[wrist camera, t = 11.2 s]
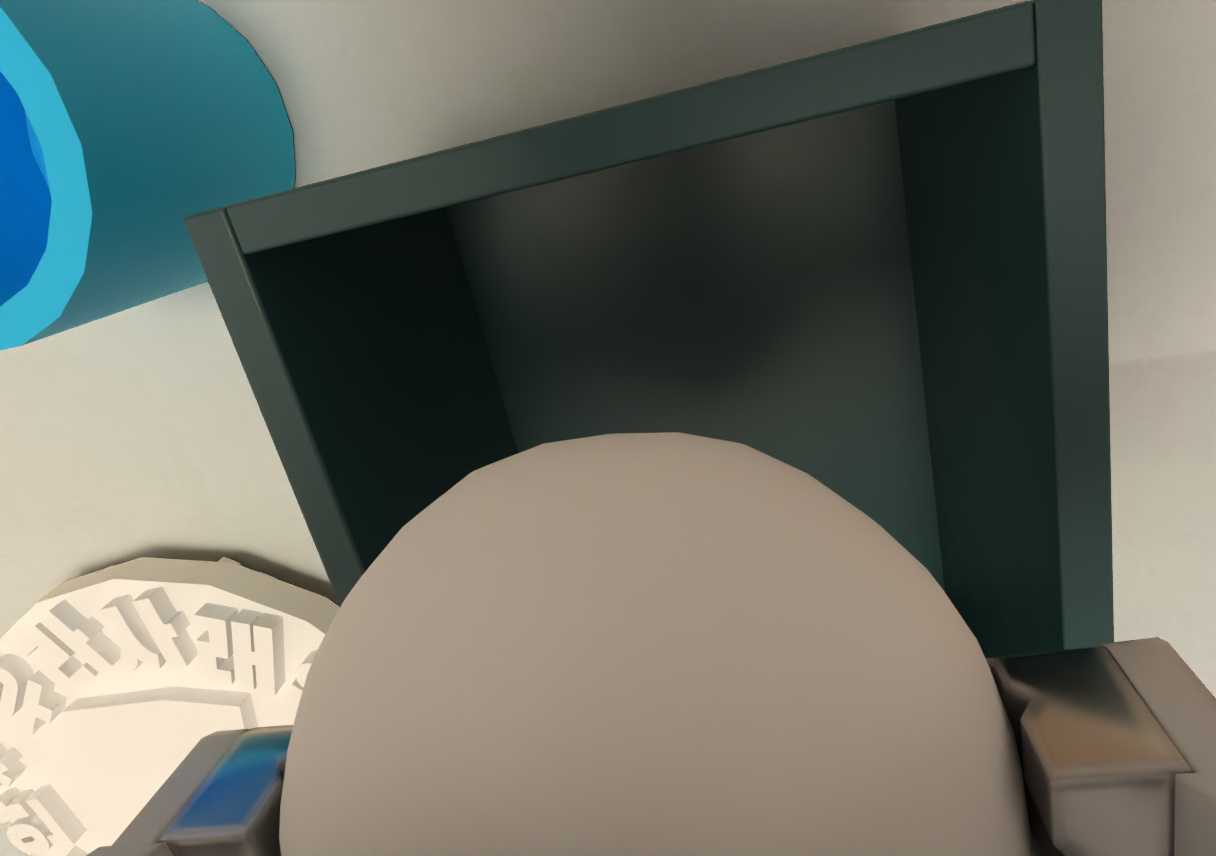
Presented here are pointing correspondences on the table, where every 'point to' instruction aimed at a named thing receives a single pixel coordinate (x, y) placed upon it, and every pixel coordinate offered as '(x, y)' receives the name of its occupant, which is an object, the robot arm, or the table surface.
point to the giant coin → (139, 688)
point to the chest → (730, 305)
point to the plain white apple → (649, 675)
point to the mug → (122, 152)
